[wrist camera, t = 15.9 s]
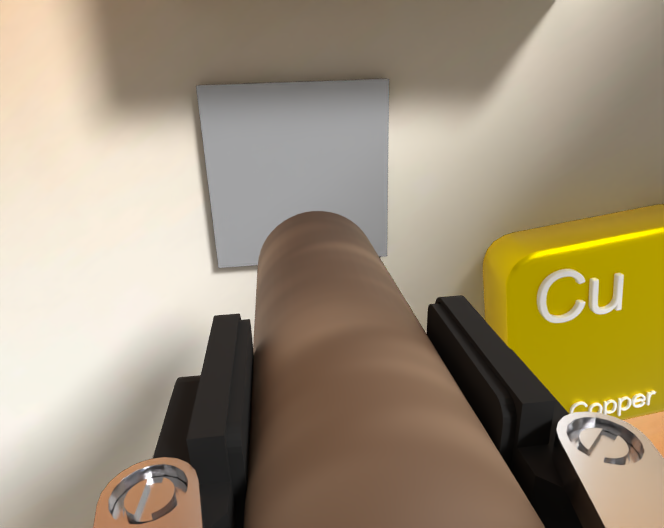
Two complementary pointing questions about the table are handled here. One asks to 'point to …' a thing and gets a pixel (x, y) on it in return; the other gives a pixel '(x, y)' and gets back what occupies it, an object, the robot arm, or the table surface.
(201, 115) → the rubber mat
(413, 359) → the dowel
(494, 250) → the element tile
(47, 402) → the table surface
